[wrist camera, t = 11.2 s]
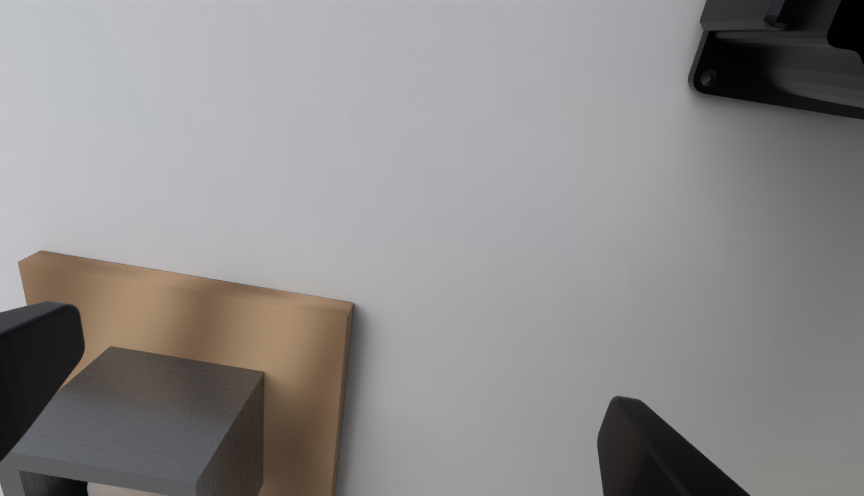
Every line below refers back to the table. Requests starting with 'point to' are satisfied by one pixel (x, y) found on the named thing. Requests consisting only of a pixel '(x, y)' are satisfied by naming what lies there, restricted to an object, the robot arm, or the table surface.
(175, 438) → the duct collar
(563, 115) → the table surface
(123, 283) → the board
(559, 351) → the table surface
